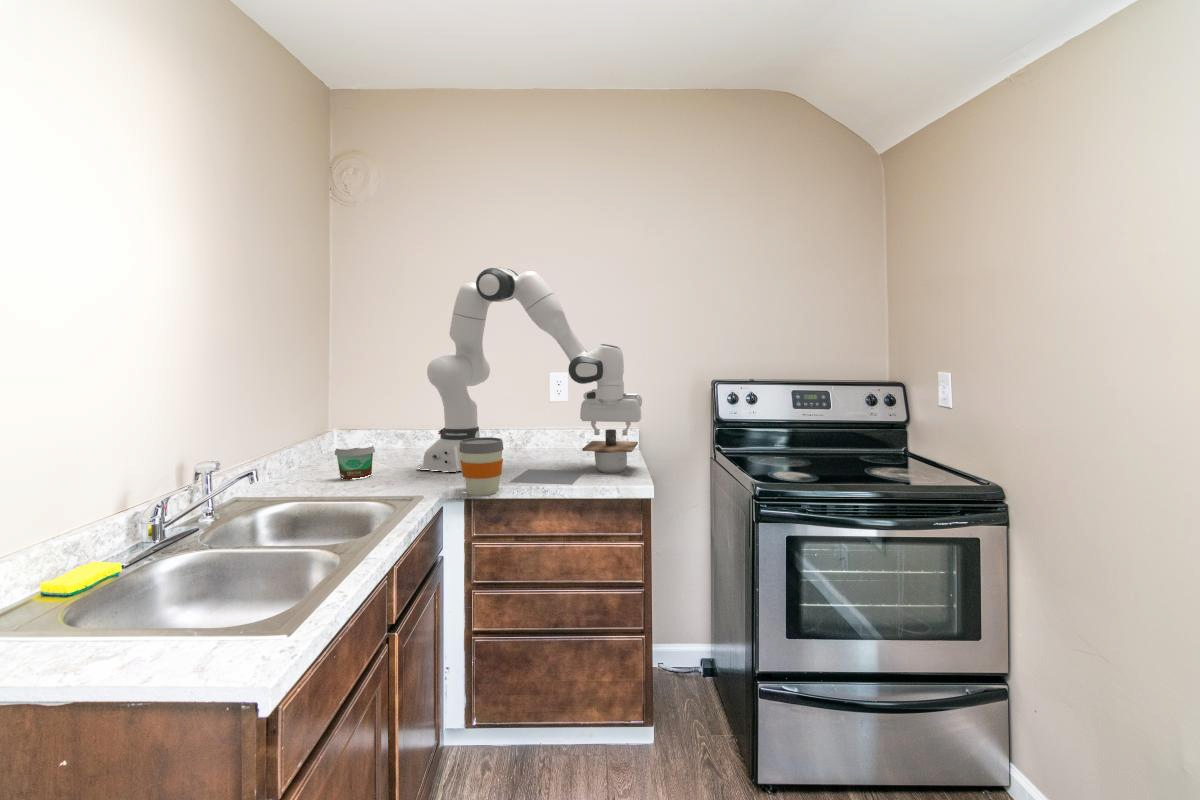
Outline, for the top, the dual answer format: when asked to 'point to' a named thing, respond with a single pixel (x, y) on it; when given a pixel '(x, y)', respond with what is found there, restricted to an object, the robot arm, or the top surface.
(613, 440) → the walnut lid
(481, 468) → the reusable coffee cup
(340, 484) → the top surface
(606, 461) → the teacup
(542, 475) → the rubber mat
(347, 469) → the food container
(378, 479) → the top surface
